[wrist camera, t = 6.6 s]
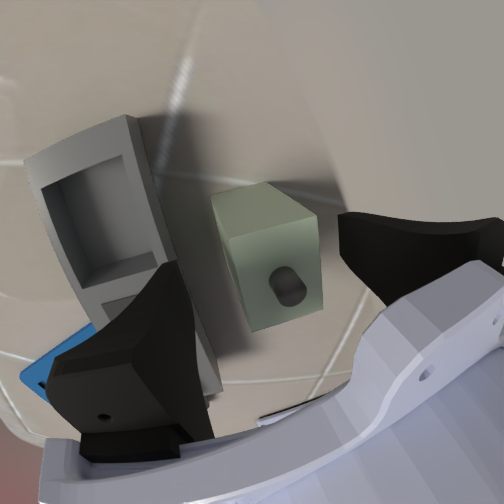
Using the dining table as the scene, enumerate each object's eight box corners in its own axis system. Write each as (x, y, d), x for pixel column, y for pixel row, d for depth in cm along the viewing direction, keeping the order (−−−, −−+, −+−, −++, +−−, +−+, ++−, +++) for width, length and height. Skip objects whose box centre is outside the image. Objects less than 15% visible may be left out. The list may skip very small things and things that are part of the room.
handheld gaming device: (206, 379, 18) (84, 429, 18) (204, 368, 19) (85, 420, 19) (126, 304, 14) (15, 380, 15) (128, 294, 15) (19, 371, 16)
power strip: (232, 395, 21) (242, 430, 18) (176, 408, 20) (180, 443, 17) (137, 118, 11) (121, 113, 8) (51, 153, 11) (16, 162, 7)
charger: (276, 248, 16) (334, 323, 10) (226, 263, 16) (258, 350, 10) (265, 181, 14) (331, 225, 8) (209, 195, 14) (234, 252, 8)
